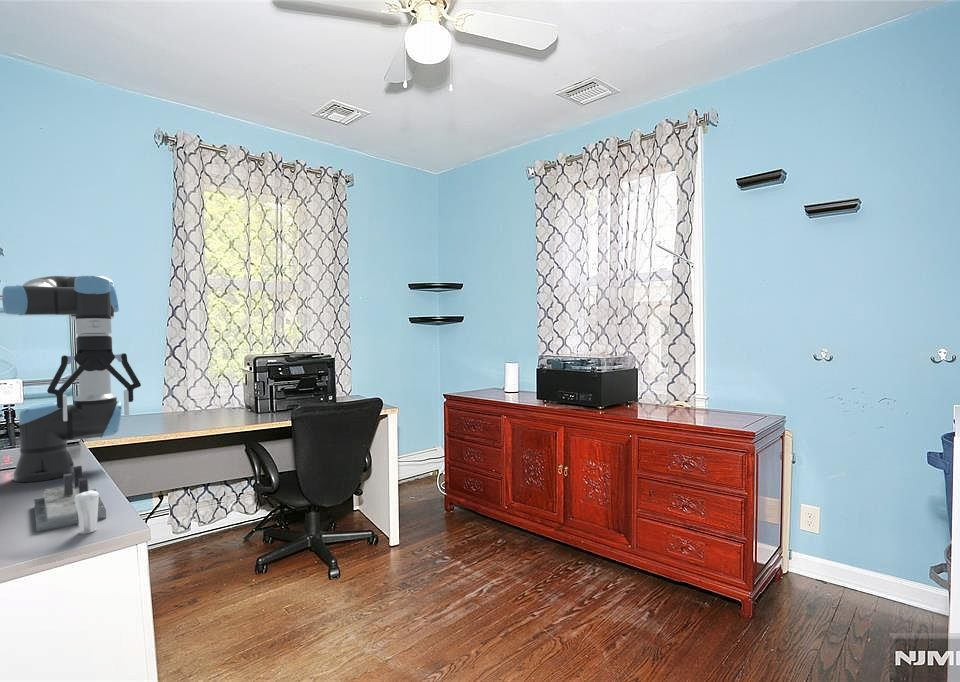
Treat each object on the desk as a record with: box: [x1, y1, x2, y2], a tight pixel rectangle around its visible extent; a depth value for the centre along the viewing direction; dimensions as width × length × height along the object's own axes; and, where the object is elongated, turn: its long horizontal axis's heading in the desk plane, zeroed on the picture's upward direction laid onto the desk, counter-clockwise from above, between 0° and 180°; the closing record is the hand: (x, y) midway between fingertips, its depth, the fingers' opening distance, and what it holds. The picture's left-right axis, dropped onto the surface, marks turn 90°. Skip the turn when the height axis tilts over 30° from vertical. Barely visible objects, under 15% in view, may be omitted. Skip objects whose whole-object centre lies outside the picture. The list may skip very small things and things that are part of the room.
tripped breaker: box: [63, 473, 74, 495], centre depth 132 cm, size 3×2×5 cm, turn 41°
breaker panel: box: [33, 465, 107, 533], centre depth 132 cm, size 24×13×10 cm, turn 41°
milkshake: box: [73, 488, 100, 535], centre depth 119 cm, size 4×5×10 cm
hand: (97, 417), depth 136 cm, fingers open, 12 cm apart
